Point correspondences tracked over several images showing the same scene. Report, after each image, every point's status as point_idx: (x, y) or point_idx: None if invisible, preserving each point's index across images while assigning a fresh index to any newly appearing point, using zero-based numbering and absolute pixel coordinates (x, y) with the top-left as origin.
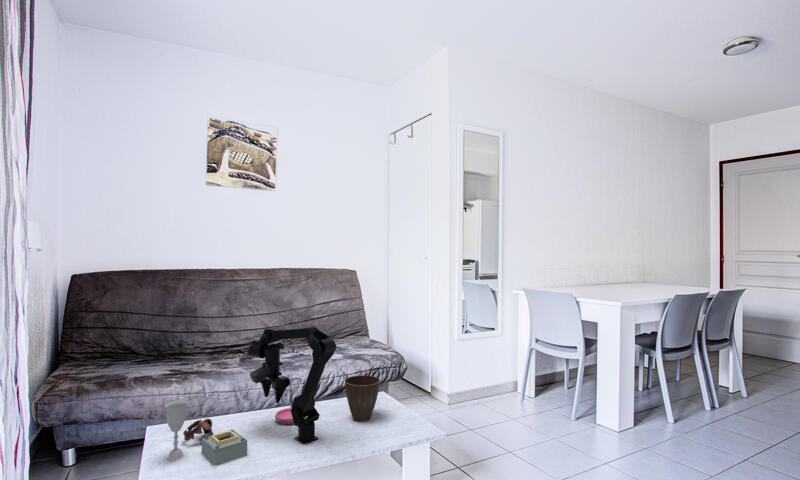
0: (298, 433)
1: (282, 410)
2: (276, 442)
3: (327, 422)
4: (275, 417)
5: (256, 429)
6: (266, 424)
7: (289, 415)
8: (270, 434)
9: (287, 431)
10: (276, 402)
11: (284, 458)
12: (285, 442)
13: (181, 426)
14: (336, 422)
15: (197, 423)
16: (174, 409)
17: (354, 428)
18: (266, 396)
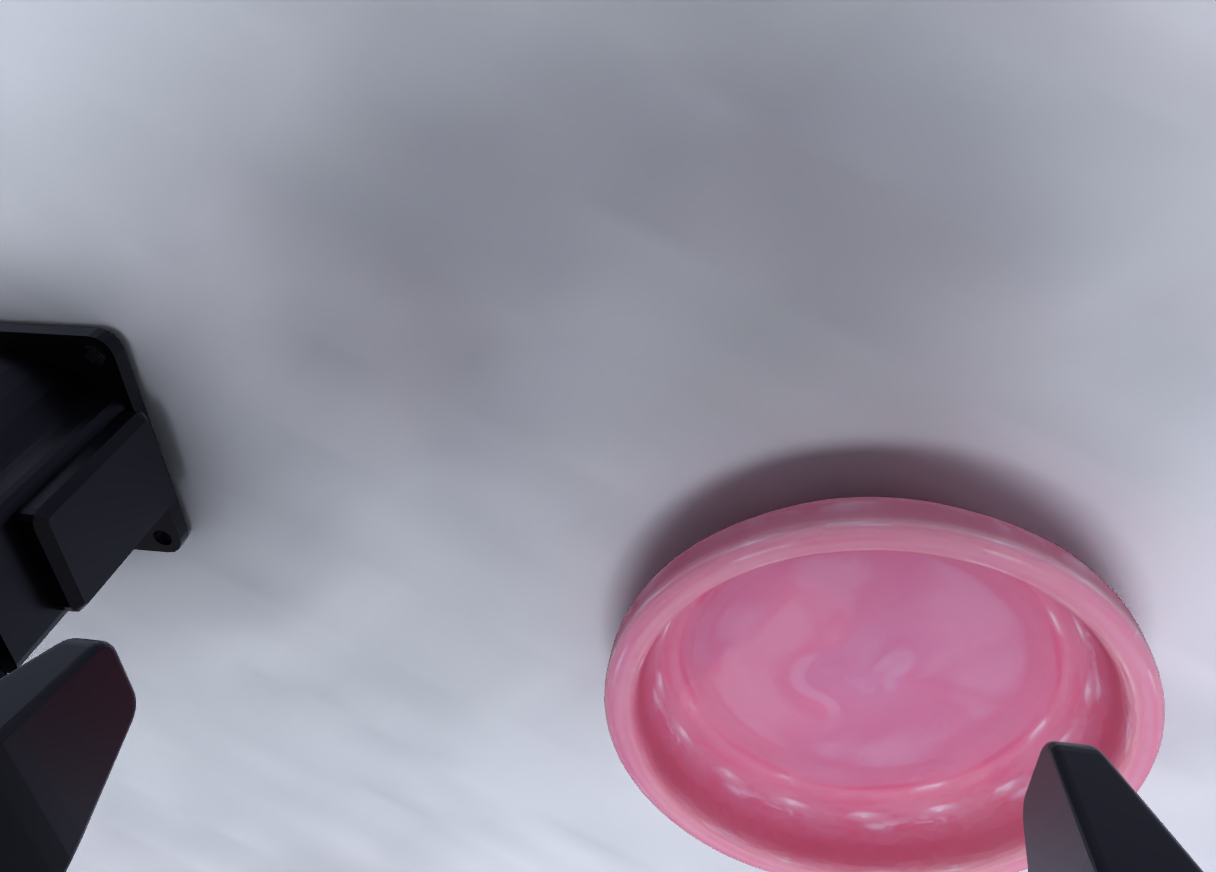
0: (119, 428)
1: (1123, 732)
2: (121, 45)
3: (428, 816)
4: (982, 520)
5: (988, 37)
6: (1040, 315)
7: (973, 709)
8: (528, 137)
9: (466, 402)
10: (49, 653)
11: None
12: (59, 165)
13: None
14: (369, 854)
15: None
16: None
17: (127, 848)
18: (1038, 786)
